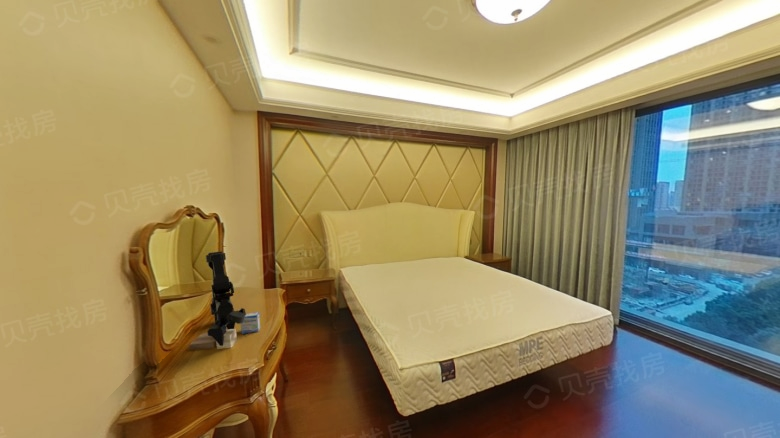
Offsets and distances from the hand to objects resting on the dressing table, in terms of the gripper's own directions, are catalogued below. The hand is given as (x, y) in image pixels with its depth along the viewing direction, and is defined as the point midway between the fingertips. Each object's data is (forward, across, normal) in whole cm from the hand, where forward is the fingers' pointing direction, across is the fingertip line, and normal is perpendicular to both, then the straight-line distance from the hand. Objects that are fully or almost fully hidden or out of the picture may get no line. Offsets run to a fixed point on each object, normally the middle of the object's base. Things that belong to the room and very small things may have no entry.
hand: (226, 340), depth 128 cm
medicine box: (+2, +12, -6) cm, 14 cm away
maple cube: (+2, 0, 0) cm, 2 cm away
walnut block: (+3, +3, +10) cm, 11 cm away
